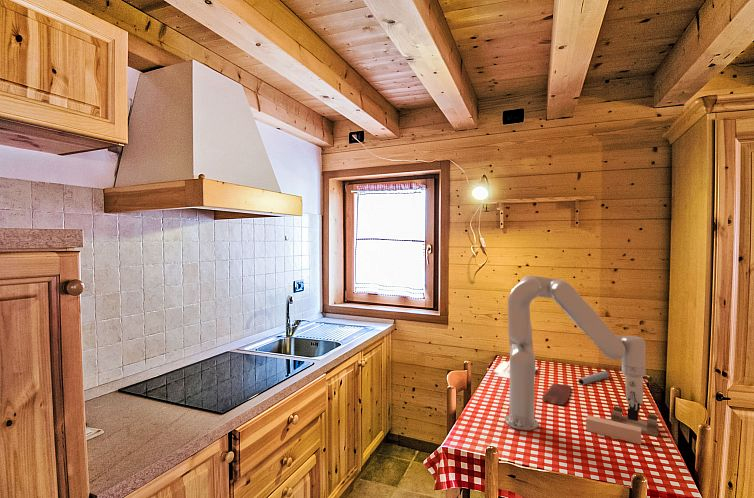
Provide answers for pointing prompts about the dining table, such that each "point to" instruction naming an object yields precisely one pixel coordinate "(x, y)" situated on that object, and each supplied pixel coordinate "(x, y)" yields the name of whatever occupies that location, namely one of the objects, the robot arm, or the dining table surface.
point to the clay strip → (614, 429)
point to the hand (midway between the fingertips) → (633, 414)
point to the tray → (505, 369)
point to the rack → (646, 426)
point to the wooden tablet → (557, 394)
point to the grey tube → (593, 378)
